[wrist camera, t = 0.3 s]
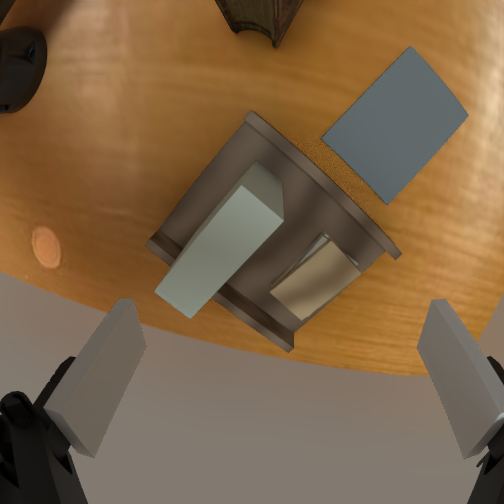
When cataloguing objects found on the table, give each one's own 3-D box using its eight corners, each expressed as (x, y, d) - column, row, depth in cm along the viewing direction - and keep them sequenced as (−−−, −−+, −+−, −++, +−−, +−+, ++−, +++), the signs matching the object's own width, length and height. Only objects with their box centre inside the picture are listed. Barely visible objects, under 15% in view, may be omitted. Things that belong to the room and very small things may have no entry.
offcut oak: (270, 288, 40) (269, 292, 39) (330, 237, 36) (331, 240, 36) (301, 316, 41) (301, 320, 40) (359, 270, 38) (361, 273, 37)
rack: (158, 231, 42) (144, 245, 37) (254, 111, 35) (250, 110, 30) (287, 331, 47) (288, 352, 42) (389, 238, 39) (402, 253, 35)
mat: (320, 138, 35) (321, 138, 35) (409, 46, 29) (410, 45, 28) (386, 204, 38) (387, 205, 37) (467, 115, 31) (468, 115, 31)
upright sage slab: (195, 232, 40) (153, 291, 26) (256, 159, 36) (241, 184, 22) (219, 251, 41) (190, 319, 27) (282, 182, 36) (283, 220, 23)
